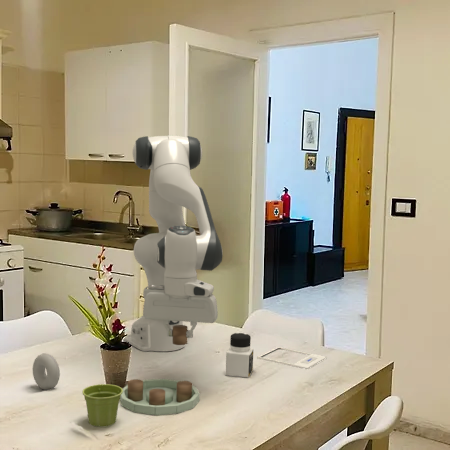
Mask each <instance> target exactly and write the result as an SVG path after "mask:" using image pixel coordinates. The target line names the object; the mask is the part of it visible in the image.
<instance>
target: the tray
mask: <svg viewBox="0 0 450 450" xmlns="http://www.w3.org/2000/svg"><path fill="white" fill-rule="evenodd" d="M141 380H142V379H141ZM142 381H143V400H141V401H137V402H134V401H132V400H130V399H128V398H127V397H128V384H126V385H125V386H124V387H122V389H123V393H122V394H121V397H120V399H119V401H120V404H121V406H122V407H123V408H125V409H127V410H129V411H131V412H133V413H137V414H138V413H139V414H144V415H152V416H164V415H166V416H167V415H177V414H180V413H184V412H186V411H189V410H193V409H194V407H196V406H197V404H199V402H200V392H199V390H198V388H197V387H196V386H195V385H193V384H192V398H191V399H190V400H187V401H184V402H181V403H179V402H177V401H176V393H177V382H179V381H180V380H179V379H177V380H176V379H171V378H169V379H168V378H155V379H153V378H152V379H150V378H149V379H143V380H142ZM152 389H163V390H165V405H158V406H155V405H149V391H150V390H152Z"/></svg>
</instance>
